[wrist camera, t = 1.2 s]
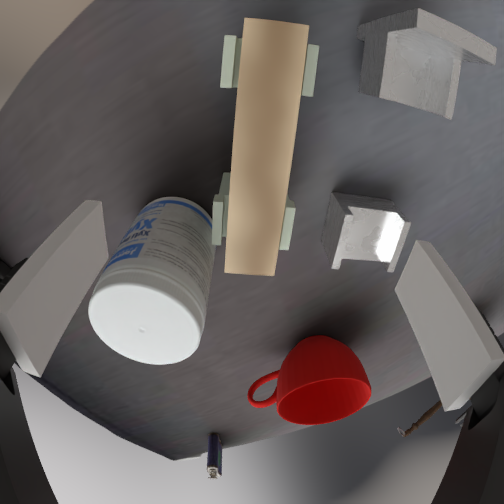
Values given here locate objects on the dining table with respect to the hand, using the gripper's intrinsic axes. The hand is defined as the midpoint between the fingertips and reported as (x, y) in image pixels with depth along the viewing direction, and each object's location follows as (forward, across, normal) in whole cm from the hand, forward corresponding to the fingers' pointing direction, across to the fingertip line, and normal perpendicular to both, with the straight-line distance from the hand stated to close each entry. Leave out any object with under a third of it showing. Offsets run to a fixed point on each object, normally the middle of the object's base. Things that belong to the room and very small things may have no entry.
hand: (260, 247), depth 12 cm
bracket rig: (+20, -12, -1) cm, 24 cm away
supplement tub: (+20, +8, +12) cm, 24 cm away
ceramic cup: (+20, -11, +30) cm, 38 cm away
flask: (+20, +1, +67) cm, 70 cm away
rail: (+14, 0, -1) cm, 14 cm away
